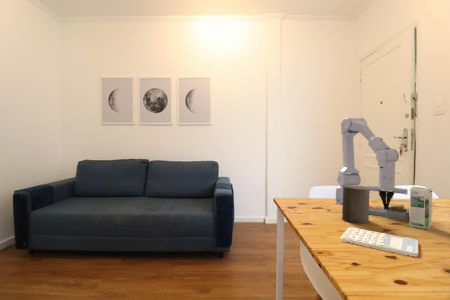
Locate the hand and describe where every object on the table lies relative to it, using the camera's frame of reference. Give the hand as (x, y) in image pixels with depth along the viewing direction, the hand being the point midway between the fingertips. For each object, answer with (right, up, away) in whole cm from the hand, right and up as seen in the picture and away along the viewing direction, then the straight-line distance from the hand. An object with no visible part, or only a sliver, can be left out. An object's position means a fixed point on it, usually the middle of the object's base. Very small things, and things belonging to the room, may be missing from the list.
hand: (386, 209), depth 109 cm
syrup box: (+5, -4, -13) cm, 14 cm away
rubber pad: (+6, -3, +11) cm, 13 cm away
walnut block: (+2, -1, 0) cm, 2 cm away
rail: (-1, -3, +1) cm, 3 cm away
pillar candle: (-16, -3, -6) cm, 17 cm away
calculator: (-20, -5, -28) cm, 35 cm away
